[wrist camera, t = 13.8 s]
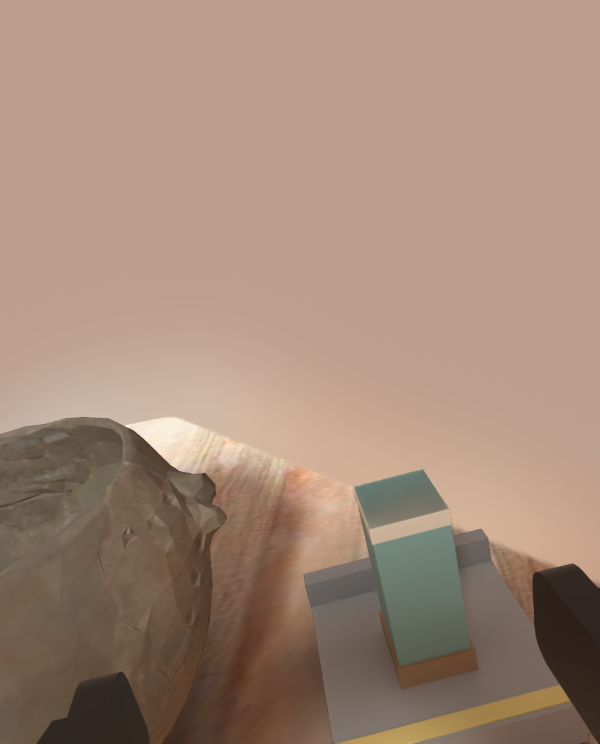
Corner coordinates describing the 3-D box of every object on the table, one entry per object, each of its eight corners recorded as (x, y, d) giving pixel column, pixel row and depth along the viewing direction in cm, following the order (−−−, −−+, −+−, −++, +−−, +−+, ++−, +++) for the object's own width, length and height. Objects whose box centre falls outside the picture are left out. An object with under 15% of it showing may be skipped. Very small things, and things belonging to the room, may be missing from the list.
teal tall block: (401, 689, 33) (366, 532, 29) (382, 629, 37) (350, 485, 33) (478, 669, 33) (453, 509, 29) (449, 611, 37) (425, 466, 33)
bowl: (337, 819, 30) (243, 516, 23) (-284, 1187, 22) (-686, 896, 16) (227, 550, 54) (167, 367, 48) (-84, 681, 47) (-206, 486, 40)
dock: (348, 805, 30) (329, 742, 28) (317, 625, 43) (303, 574, 41) (588, 741, 30) (584, 675, 29) (488, 581, 43) (481, 528, 41)
